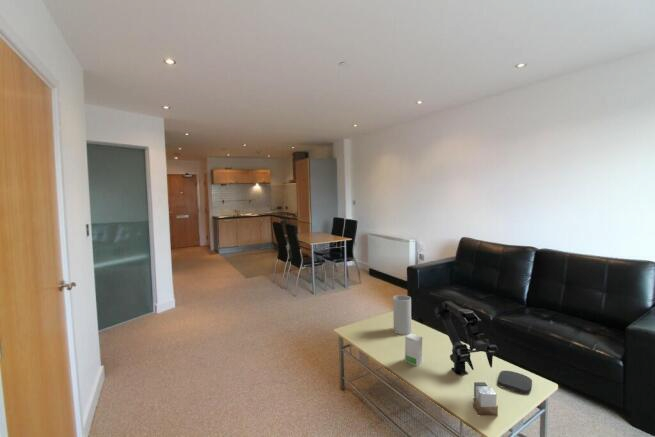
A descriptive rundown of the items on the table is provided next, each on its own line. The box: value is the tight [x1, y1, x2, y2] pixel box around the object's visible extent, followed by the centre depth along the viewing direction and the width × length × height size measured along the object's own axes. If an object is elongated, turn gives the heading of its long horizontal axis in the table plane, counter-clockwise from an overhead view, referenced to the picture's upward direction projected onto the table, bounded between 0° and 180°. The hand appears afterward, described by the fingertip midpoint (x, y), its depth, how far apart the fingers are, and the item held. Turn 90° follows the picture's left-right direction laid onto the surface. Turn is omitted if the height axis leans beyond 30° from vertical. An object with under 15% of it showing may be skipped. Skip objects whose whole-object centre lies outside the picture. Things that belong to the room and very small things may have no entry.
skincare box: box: [404, 332, 423, 367], centre depth 188 cm, size 8×7×16 cm
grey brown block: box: [472, 385, 499, 417], centre depth 144 cm, size 6×8×10 cm
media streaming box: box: [497, 370, 533, 395], centre depth 164 cm, size 15×15×3 cm
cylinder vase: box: [392, 294, 412, 336], centre depth 229 cm, size 12×12×25 cm
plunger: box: [473, 381, 488, 398], centre depth 146 cm, size 8×5×7 cm, turn 177°
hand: (482, 368), depth 157 cm, fingers open, 9 cm apart
